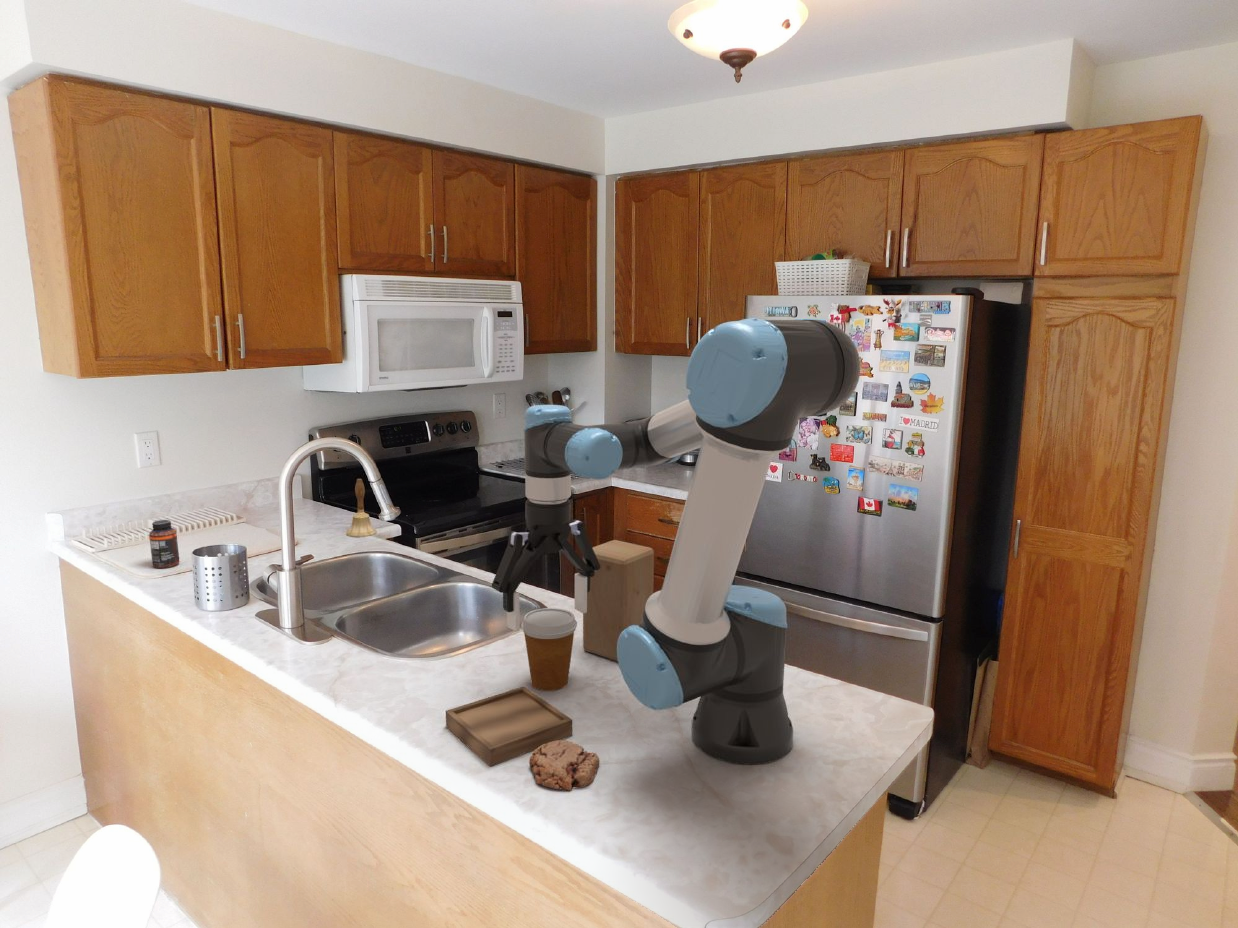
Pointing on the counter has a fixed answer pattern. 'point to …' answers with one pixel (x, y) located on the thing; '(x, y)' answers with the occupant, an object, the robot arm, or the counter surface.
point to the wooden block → (616, 594)
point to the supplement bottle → (164, 545)
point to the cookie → (563, 765)
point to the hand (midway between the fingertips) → (548, 619)
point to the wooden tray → (508, 724)
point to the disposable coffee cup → (549, 646)
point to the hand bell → (360, 516)
